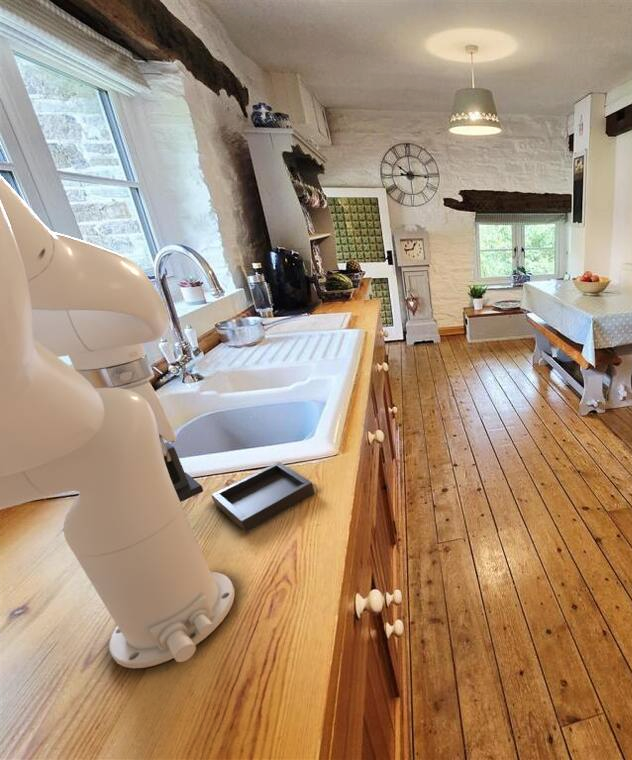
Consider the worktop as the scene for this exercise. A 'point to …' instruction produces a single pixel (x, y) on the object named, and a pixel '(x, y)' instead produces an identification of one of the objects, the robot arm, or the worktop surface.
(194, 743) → the worktop surface
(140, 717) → the worktop surface
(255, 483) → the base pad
